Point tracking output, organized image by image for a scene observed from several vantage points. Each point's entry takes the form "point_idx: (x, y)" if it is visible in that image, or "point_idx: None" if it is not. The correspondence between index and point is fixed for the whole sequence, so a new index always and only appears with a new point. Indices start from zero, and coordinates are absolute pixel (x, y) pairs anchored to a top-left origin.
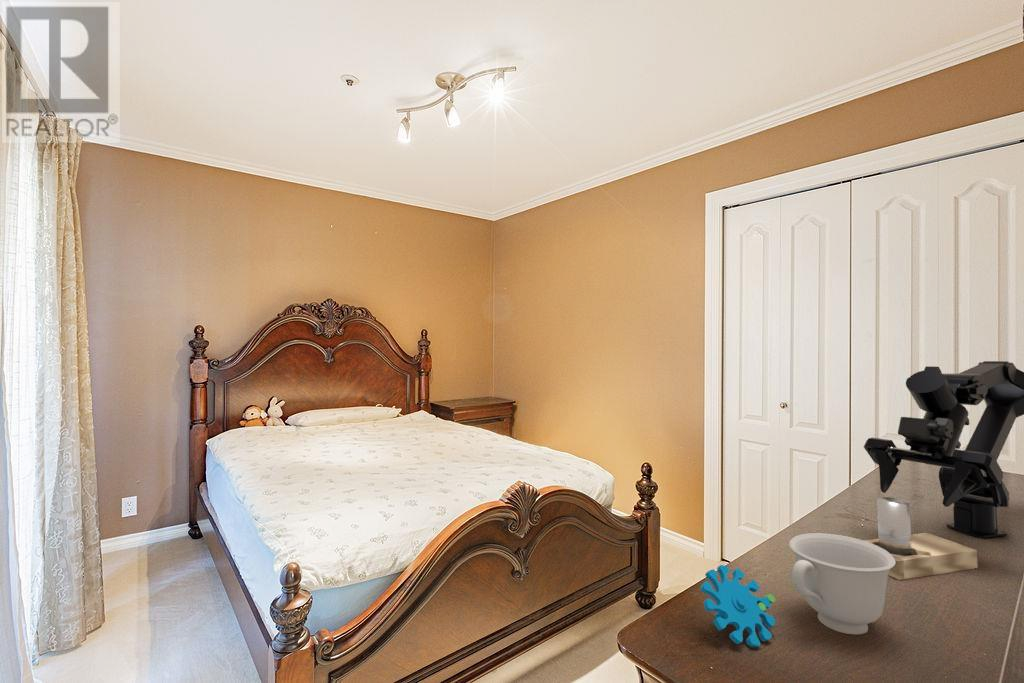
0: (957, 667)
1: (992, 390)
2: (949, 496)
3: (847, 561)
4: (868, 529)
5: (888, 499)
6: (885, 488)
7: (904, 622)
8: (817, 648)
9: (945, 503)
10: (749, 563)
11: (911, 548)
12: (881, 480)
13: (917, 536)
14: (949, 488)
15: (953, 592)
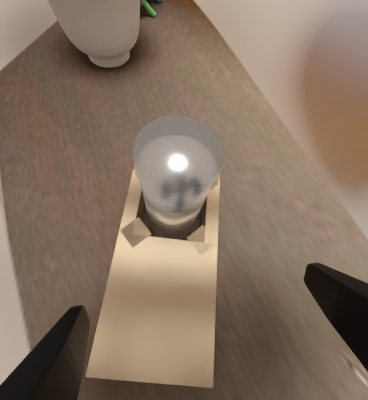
0: (17, 66)
1: None
2: (40, 341)
3: (108, 13)
4: (329, 358)
5: (197, 154)
6: (318, 286)
7: (78, 93)
8: None
9: (71, 309)
10: (239, 75)
11: (148, 215)
12: (363, 285)
13: (201, 325)
14: (18, 396)
15: (80, 205)
